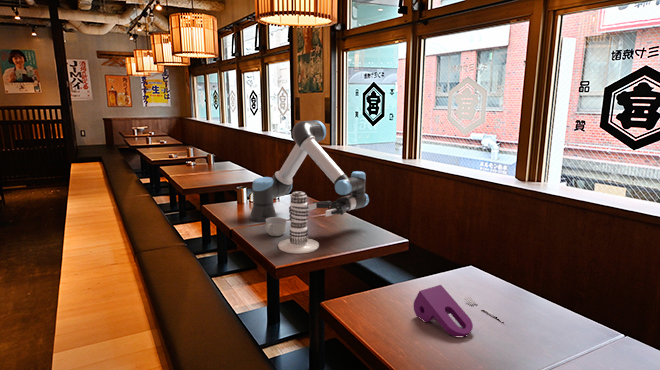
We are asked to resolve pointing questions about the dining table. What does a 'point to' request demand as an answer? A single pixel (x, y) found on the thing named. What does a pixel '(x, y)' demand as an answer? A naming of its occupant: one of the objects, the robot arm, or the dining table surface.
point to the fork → (474, 303)
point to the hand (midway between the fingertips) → (315, 210)
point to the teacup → (275, 226)
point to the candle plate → (288, 248)
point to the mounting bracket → (442, 310)
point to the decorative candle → (298, 219)
